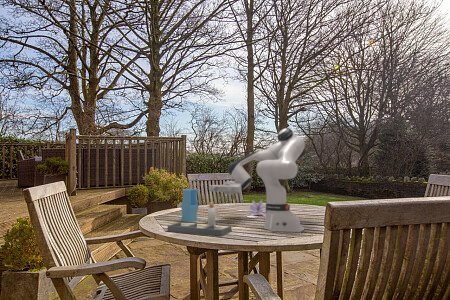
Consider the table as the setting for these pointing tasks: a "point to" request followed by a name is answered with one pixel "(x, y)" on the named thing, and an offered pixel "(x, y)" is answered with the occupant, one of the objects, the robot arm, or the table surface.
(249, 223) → the table surface
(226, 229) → the cable organizer
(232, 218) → the table surface
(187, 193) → the vase
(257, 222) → the table surface
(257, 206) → the water lily
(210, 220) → the orange capped bottle
